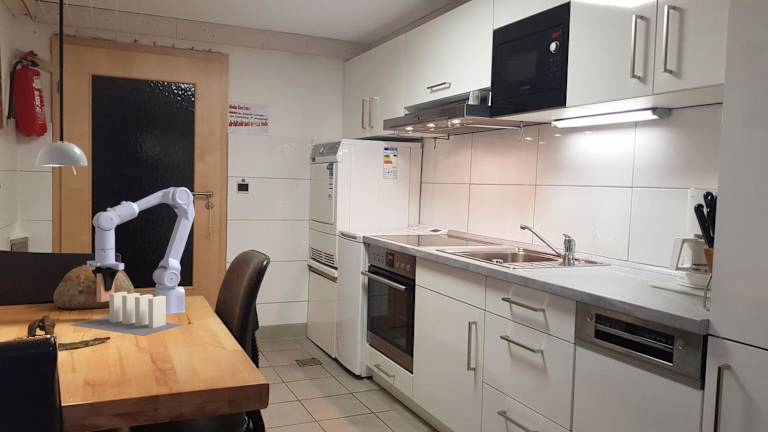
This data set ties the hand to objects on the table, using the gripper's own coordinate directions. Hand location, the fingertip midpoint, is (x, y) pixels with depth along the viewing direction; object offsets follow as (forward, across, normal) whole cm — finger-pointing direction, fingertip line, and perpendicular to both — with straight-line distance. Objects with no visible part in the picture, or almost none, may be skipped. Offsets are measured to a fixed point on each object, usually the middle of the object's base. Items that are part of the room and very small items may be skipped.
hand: (105, 290), depth 186 cm
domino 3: (+9, +11, 0) cm, 14 cm away
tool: (+10, +16, -27) cm, 33 cm away
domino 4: (+10, +16, 0) cm, 19 cm away
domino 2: (+9, +5, 0) cm, 11 cm away
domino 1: (+3, 0, 0) cm, 3 cm away
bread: (+10, -25, +17) cm, 32 cm away
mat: (+10, +12, -3) cm, 16 cm away
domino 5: (+10, +22, 0) cm, 24 cm away
